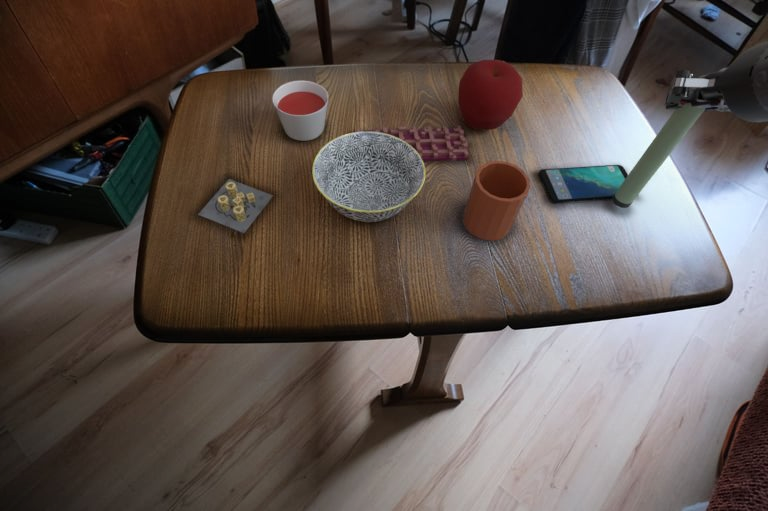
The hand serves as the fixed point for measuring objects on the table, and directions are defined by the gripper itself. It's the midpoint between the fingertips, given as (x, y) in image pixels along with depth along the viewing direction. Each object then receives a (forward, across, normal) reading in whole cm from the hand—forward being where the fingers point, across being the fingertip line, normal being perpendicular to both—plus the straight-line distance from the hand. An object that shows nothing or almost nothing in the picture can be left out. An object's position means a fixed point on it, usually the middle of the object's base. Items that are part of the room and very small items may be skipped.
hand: (683, 102), depth 57 cm
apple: (+23, +22, +3) cm, 32 cm away
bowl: (+7, +40, +19) cm, 44 cm away
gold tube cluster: (+4, +59, +21) cm, 63 cm away
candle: (+18, +53, +8) cm, 56 cm away
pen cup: (+7, +21, +19) cm, 29 cm away
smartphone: (+14, +4, +12) cm, 19 cm away
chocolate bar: (+17, +34, +9) cm, 39 cm away
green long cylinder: (+11, 0, +14) cm, 17 cm away
